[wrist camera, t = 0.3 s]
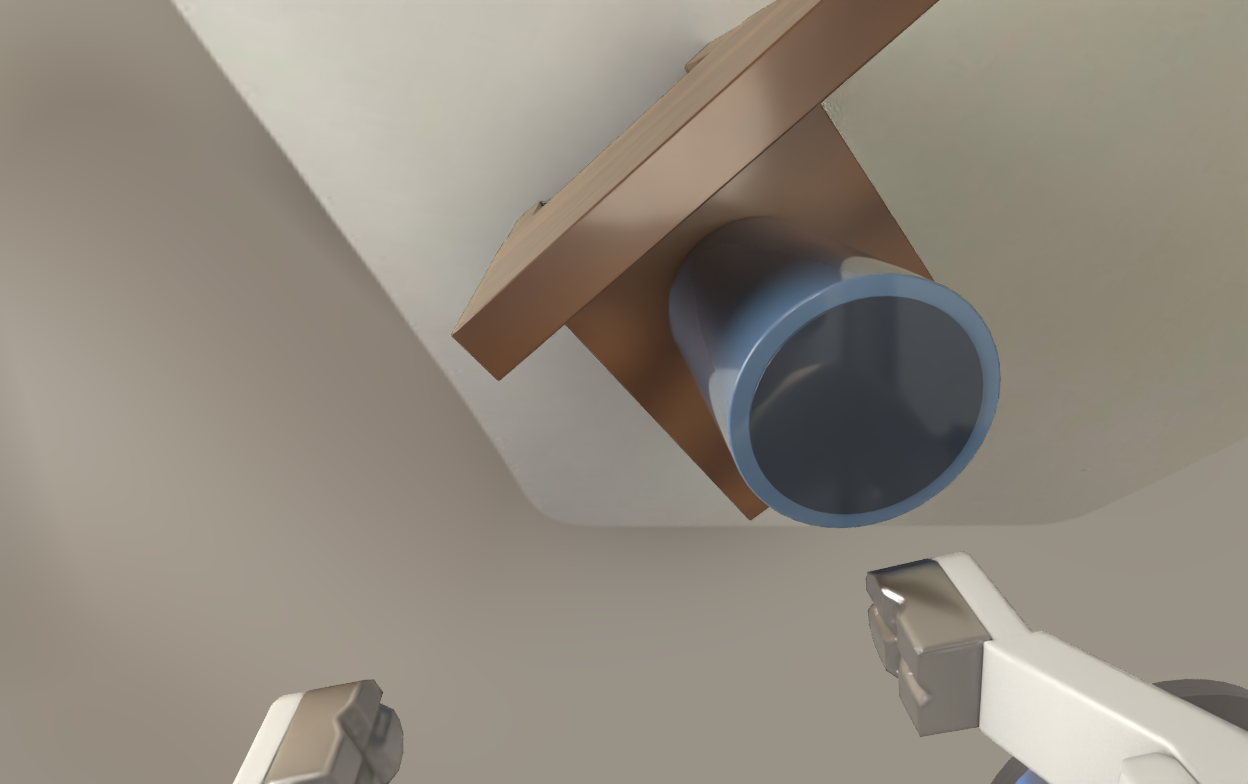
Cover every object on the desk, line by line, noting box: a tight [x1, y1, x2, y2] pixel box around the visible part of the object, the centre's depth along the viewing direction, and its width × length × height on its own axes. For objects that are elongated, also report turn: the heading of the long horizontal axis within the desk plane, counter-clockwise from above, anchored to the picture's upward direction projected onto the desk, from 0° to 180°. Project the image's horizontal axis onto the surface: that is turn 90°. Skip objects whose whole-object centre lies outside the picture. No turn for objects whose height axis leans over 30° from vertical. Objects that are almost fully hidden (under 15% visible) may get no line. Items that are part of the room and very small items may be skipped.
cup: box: [669, 216, 1001, 528], centre depth 20 cm, size 7×7×10 cm
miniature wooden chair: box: [451, 0, 939, 520], centre depth 24 cm, size 16×12×18 cm
